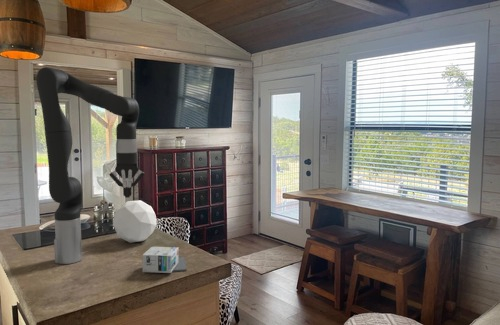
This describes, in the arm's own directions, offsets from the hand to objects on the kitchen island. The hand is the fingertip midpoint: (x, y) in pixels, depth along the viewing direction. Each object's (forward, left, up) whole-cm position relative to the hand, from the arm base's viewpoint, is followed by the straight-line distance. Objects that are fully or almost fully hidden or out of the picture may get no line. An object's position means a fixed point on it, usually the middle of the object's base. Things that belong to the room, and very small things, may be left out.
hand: (127, 197), depth 147 cm
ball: (0, +34, -27) cm, 43 cm away
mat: (+15, -2, -27) cm, 31 cm away
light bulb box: (+7, -4, -23) cm, 24 cm away
